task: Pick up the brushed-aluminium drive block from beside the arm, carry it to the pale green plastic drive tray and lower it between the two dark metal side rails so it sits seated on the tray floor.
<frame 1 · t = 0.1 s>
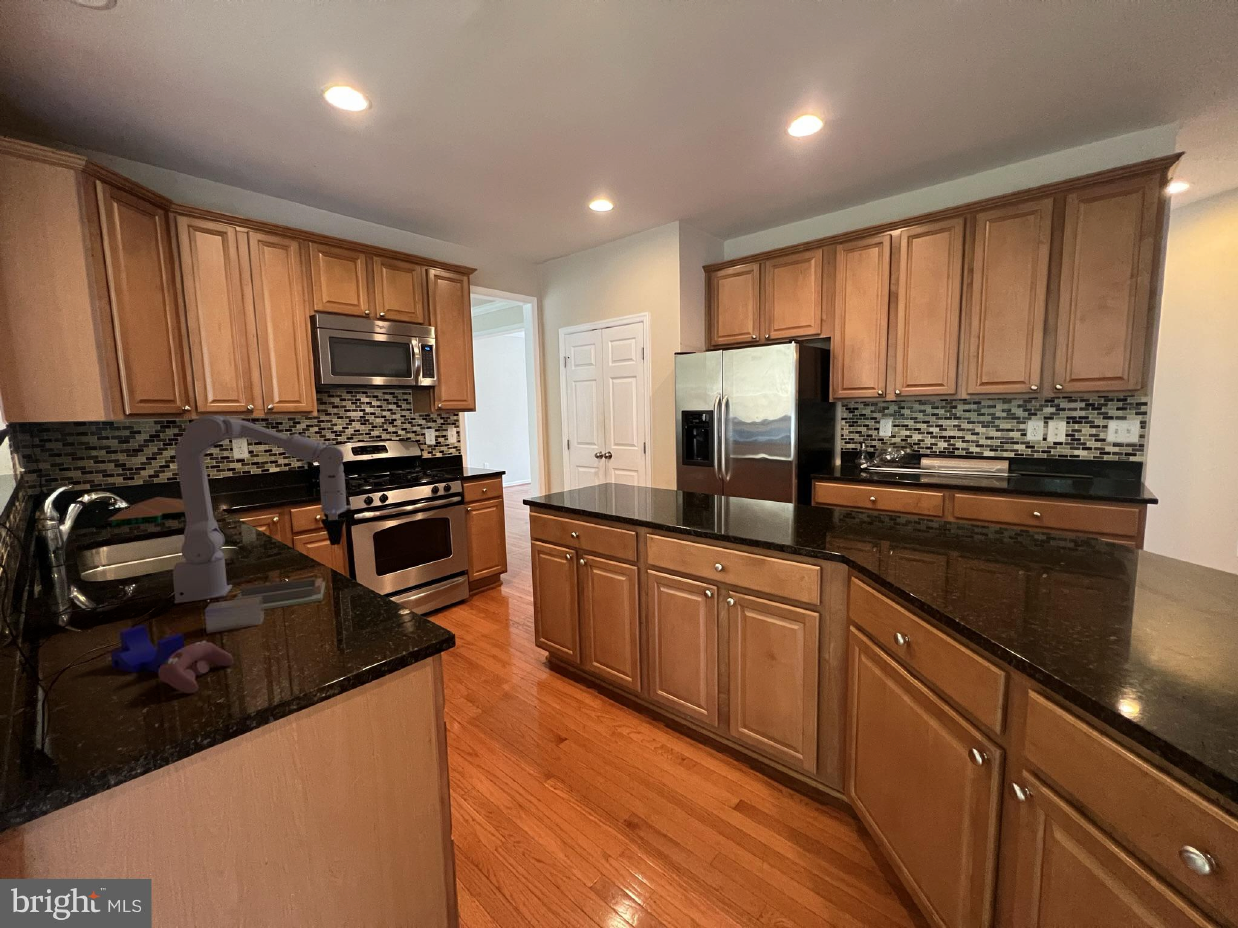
hand: (336, 541, 132), 10 cm above the counter, tool pointing down, fingers open, 7 cm apart
video game controller: (198, 680, 83), on the counter
cable clip: (149, 668, 87), on the counter
house: (158, 517, 208), on the counter
drive tray: (280, 598, 118), on the counter
drive: (236, 625, 104), on the counter
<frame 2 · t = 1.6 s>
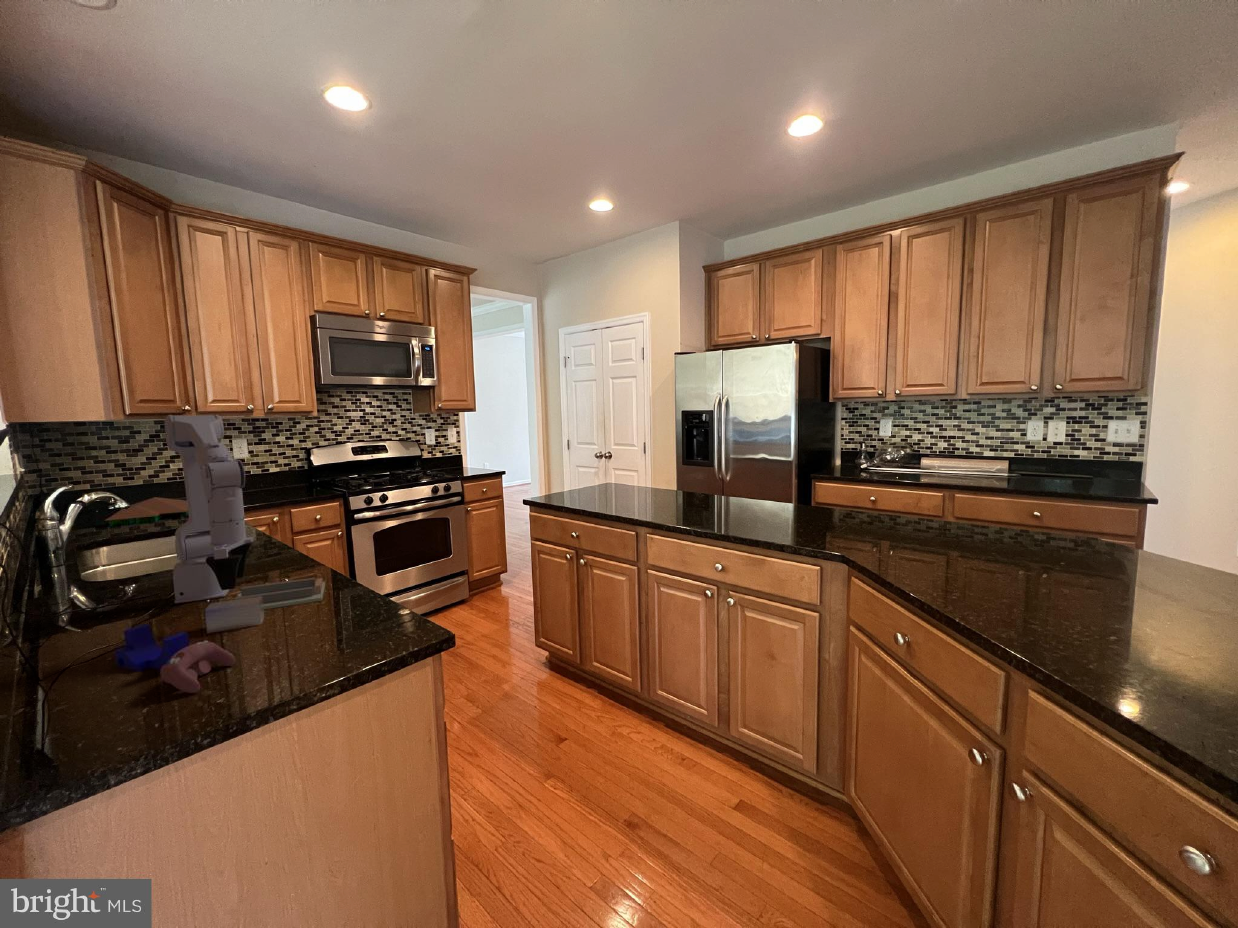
hand: (232, 583, 103), 9 cm above the counter, tool pointing down, fingers open, 7 cm apart
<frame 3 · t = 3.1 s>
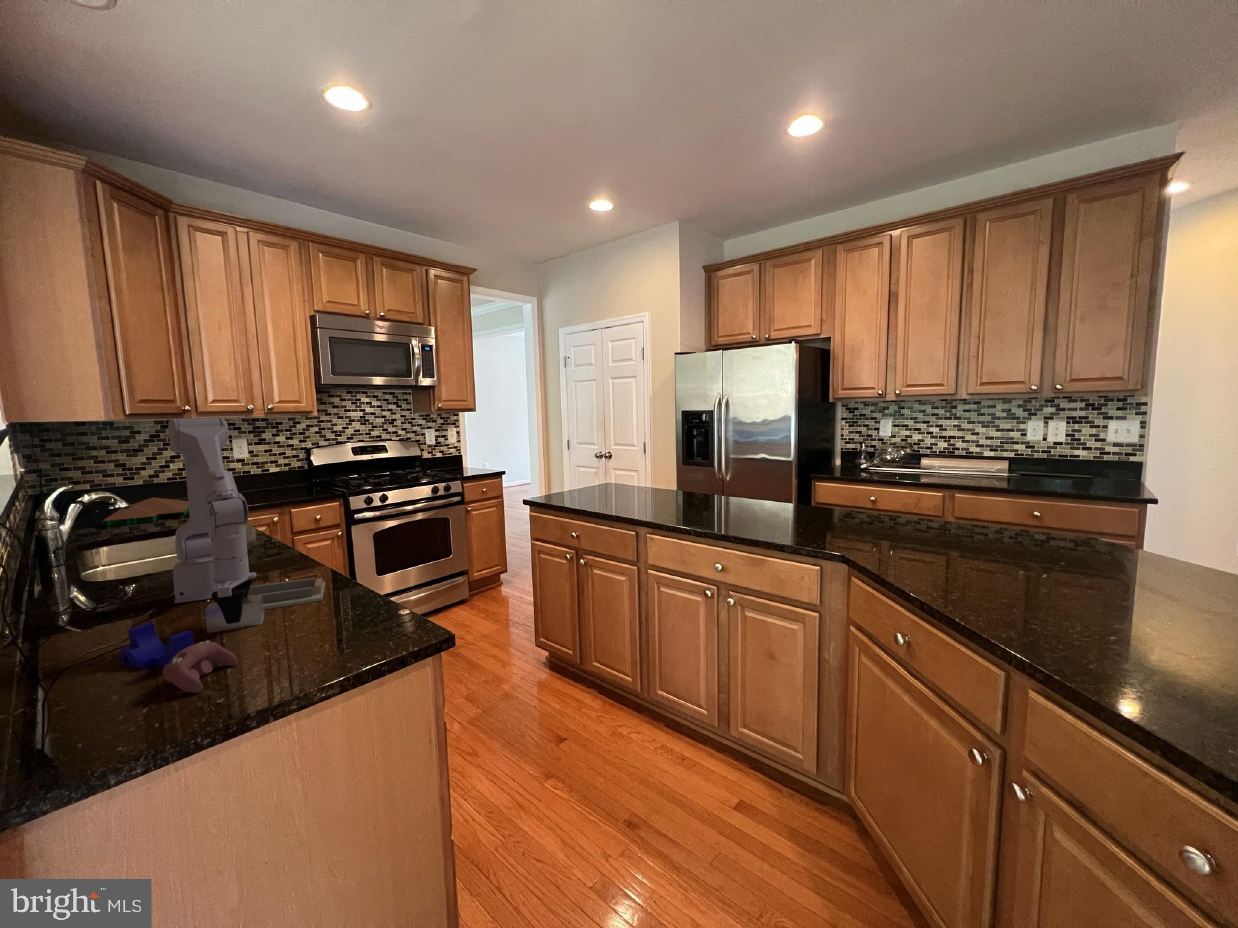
hand: (236, 618, 104), 1 cm above the counter, tool pointing down, fingers closed on drive, 4 cm apart
drive: (236, 625, 104), on the counter, touching gripper
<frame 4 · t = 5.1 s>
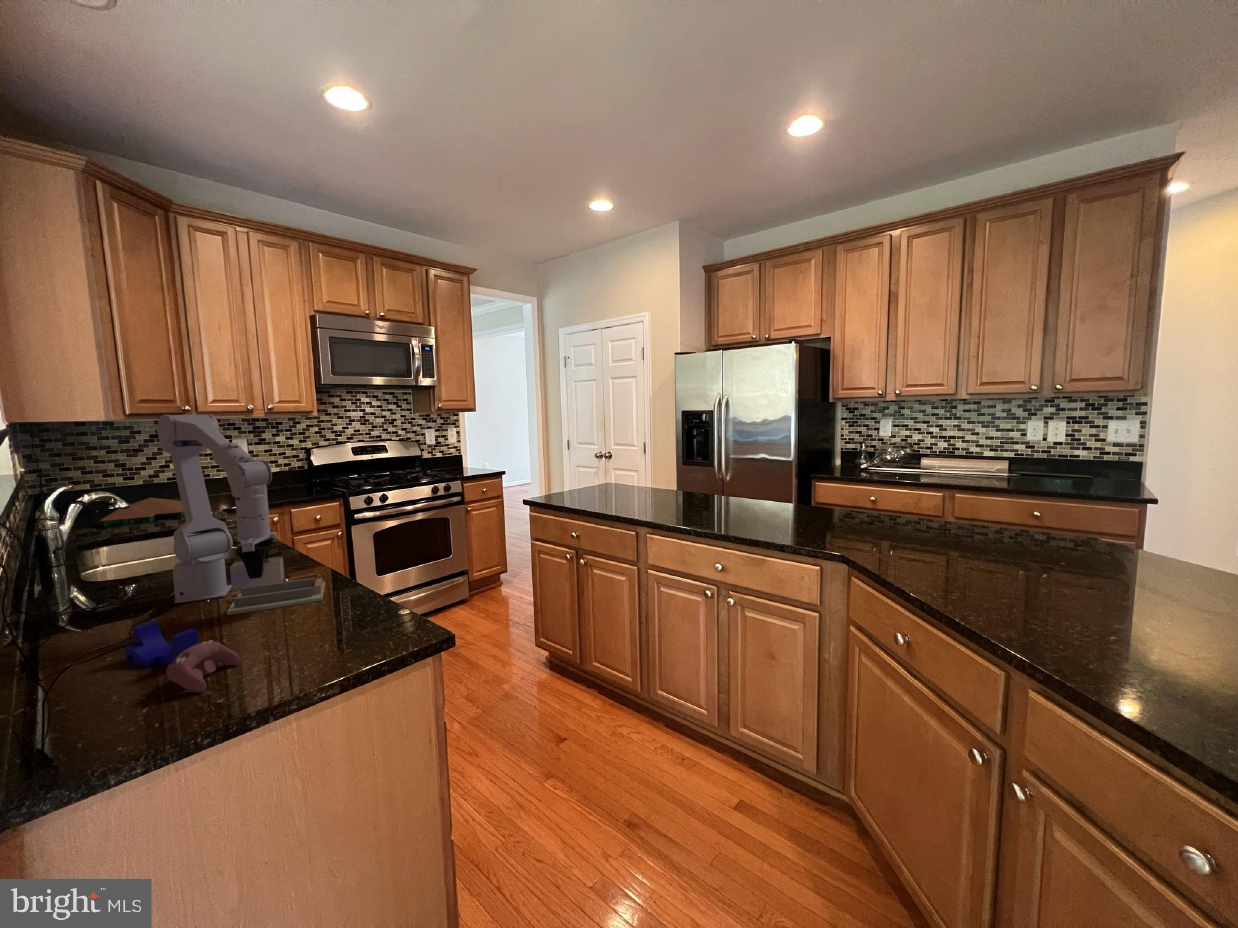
hand: (257, 574, 111), 8 cm above the counter, tool pointing down, fingers closed on drive, 4 cm apart
drive: (259, 583, 111), point 6 cm above the counter, touching gripper
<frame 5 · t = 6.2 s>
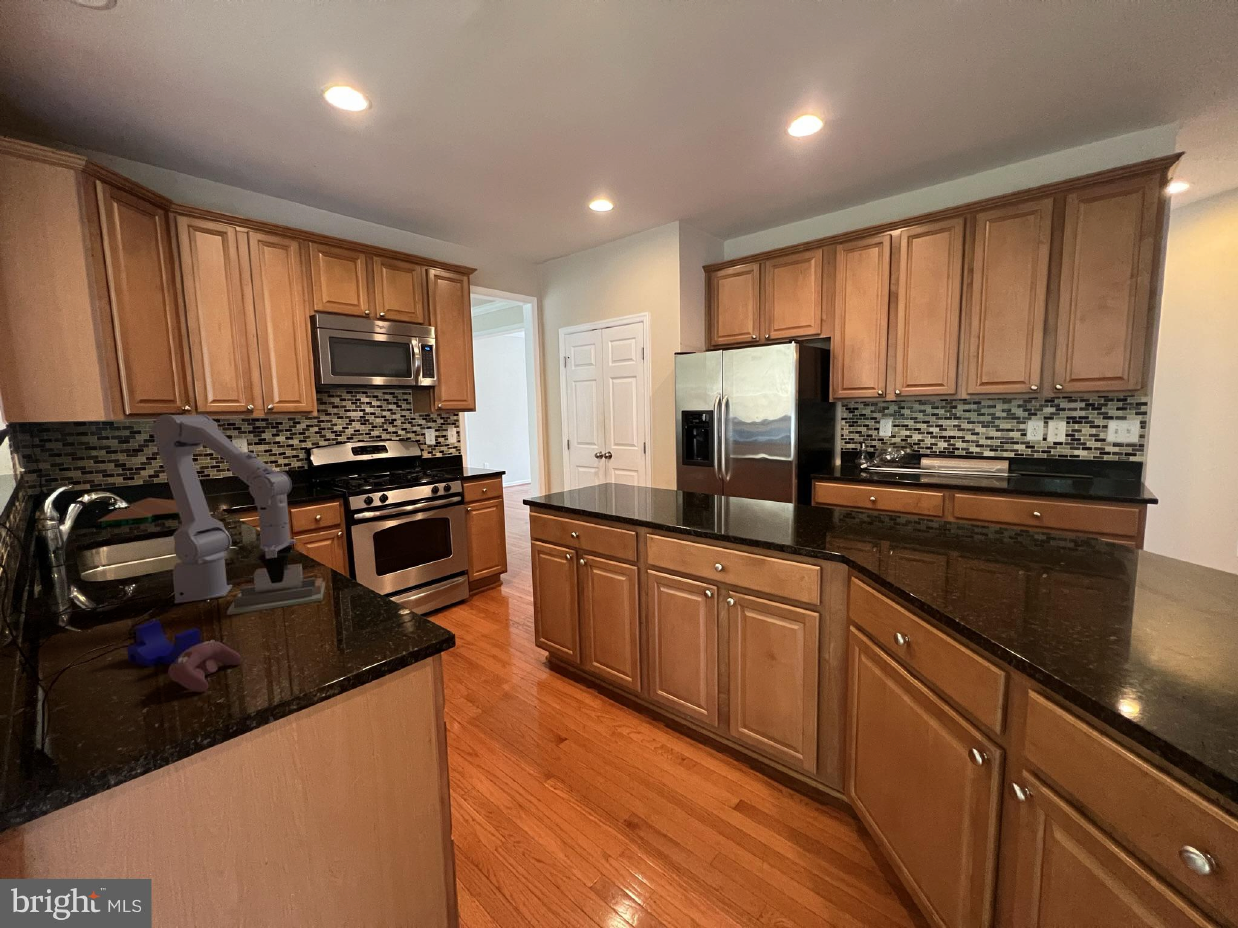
hand: (278, 579, 118), 5 cm above the counter, tool pointing down, fingers closed on drive, 4 cm apart
drive: (280, 588, 118), point 2 cm above the counter, touching gripper
when the fingers open (4 cm above the counter, at t = 7.2 s): drive stays where it is, resting on drive tray.
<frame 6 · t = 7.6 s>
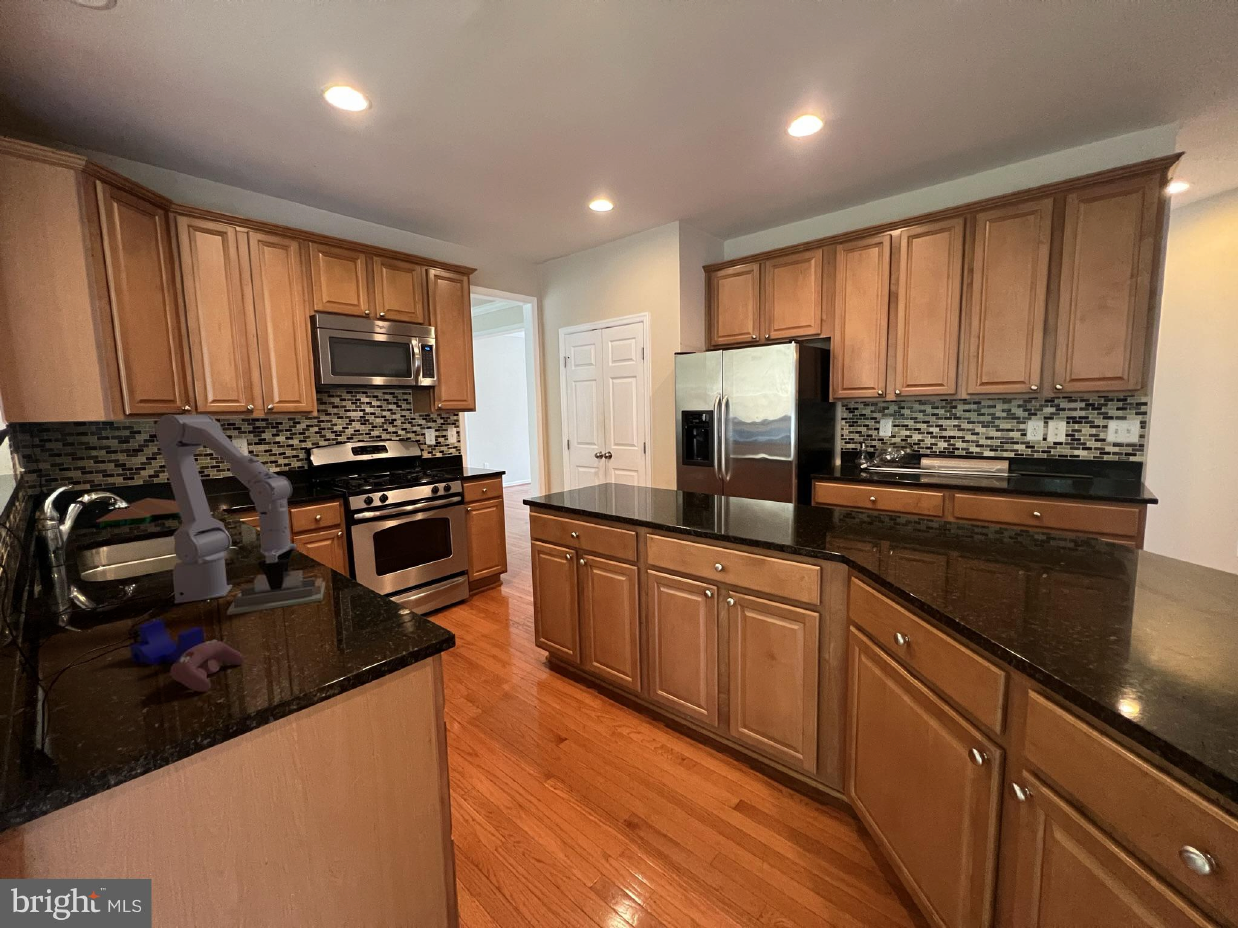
hand: (278, 583, 118), 4 cm above the counter, tool pointing down, fingers open, 7 cm apart
drive: (280, 595, 118), point 1 cm above the counter, touching drive tray
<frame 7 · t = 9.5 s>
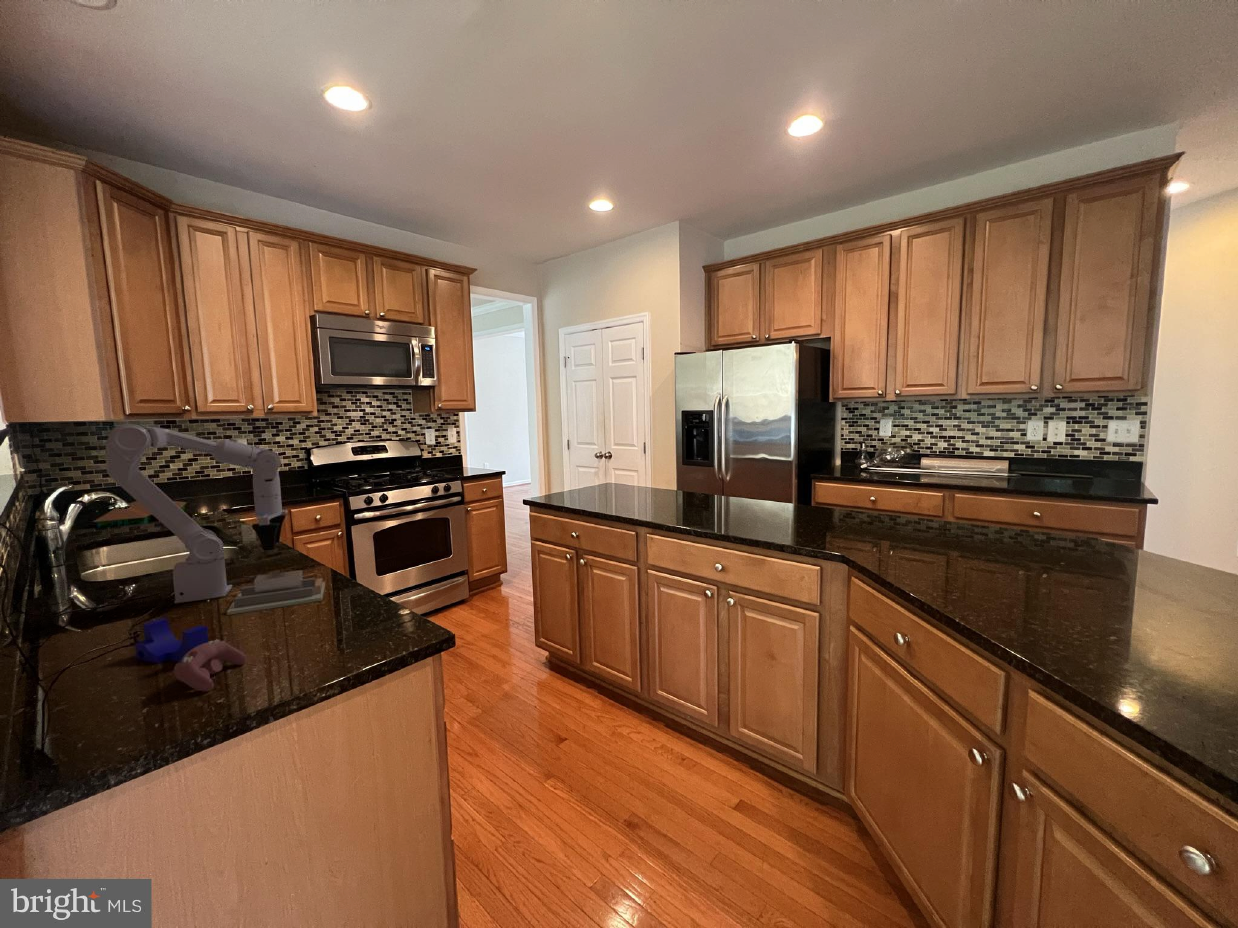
hand: (271, 546, 129), 9 cm above the counter, tool pointing down, fingers open, 7 cm apart
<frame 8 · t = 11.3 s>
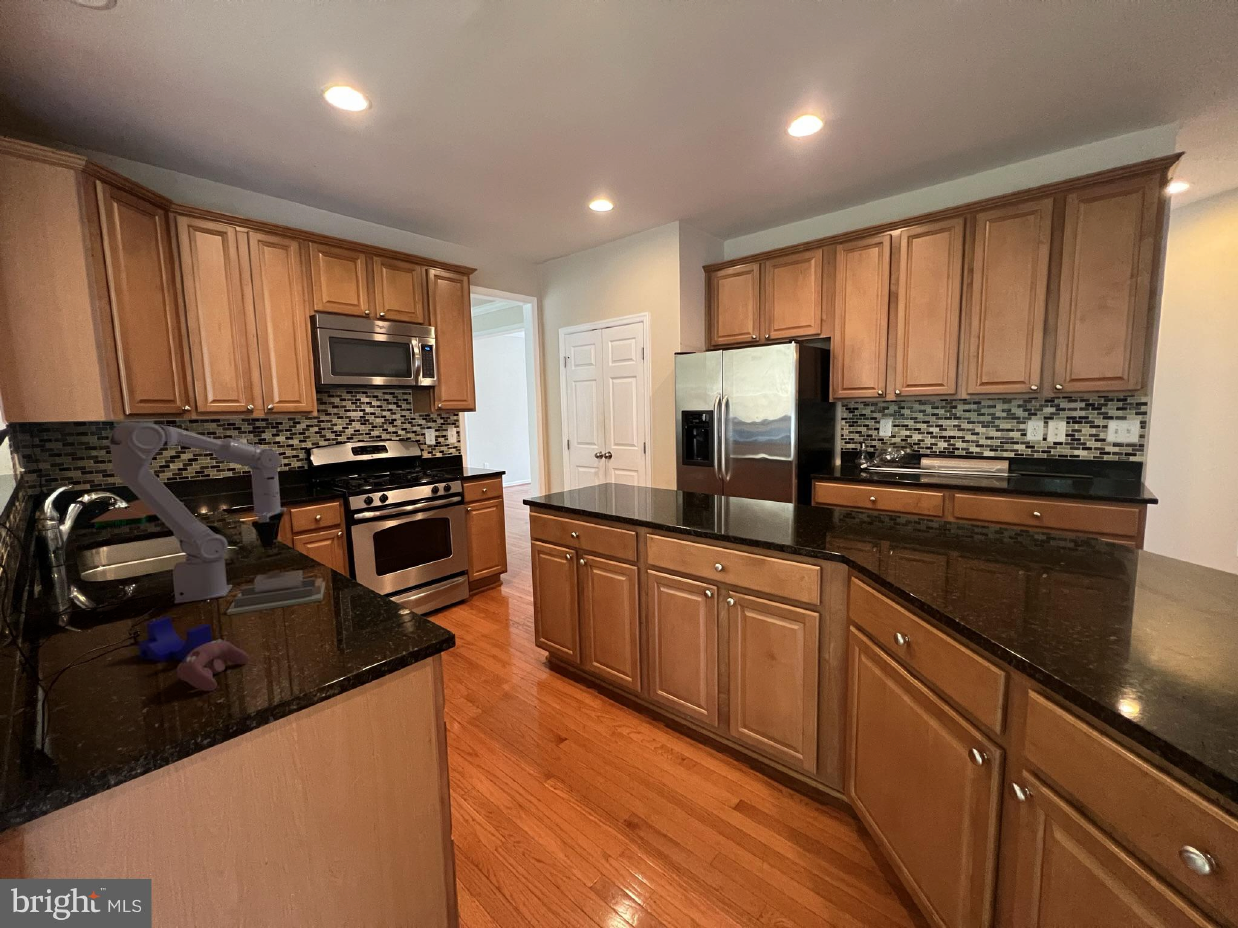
hand: (270, 543, 132), 9 cm above the counter, tool pointing down, fingers open, 7 cm apart
at the end: drive 0.1 cm off-centre on the drive tray, point 0.8 cm above the drive tray's base; drive tilted 0°; the gripper is holding nothing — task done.
